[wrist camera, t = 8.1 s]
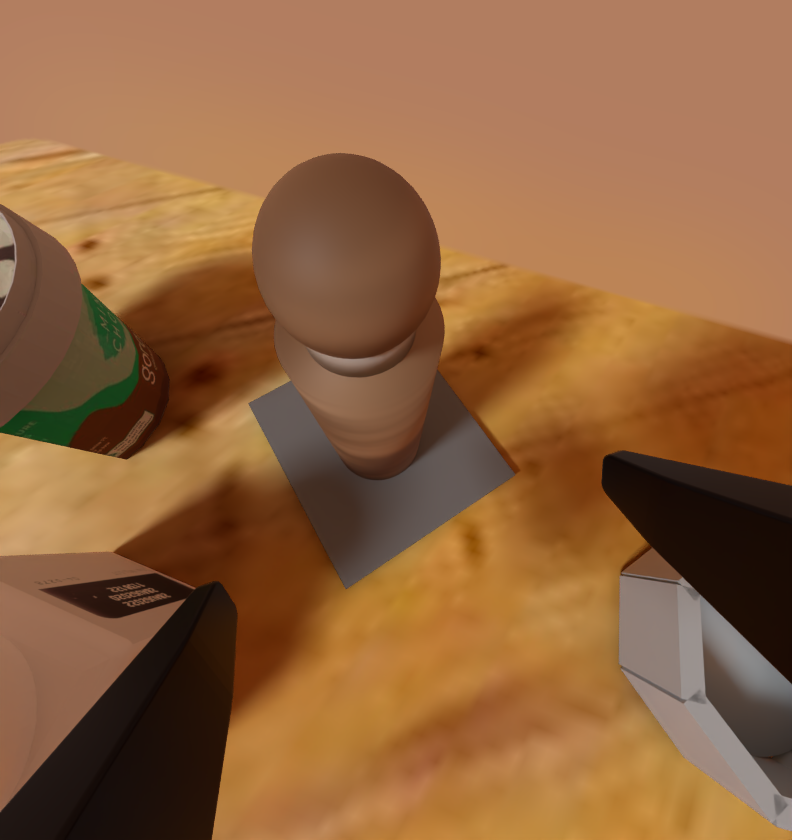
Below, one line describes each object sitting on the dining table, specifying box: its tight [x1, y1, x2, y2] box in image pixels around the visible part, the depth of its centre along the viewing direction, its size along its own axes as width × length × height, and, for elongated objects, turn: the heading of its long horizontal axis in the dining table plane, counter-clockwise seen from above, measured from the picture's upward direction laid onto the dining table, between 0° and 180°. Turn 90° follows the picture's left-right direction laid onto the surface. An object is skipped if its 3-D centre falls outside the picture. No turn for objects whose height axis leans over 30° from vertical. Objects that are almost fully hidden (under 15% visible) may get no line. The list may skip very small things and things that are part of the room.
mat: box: [248, 370, 515, 589], centre depth 20 cm, size 12×11×1 cm
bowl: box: [619, 548, 792, 831], centre depth 15 cm, size 10×10×4 cm
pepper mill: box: [252, 153, 444, 480], centre depth 13 cm, size 5×5×15 cm
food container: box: [0, 204, 169, 459], centre depth 17 cm, size 12×6×10 cm, turn 44°
